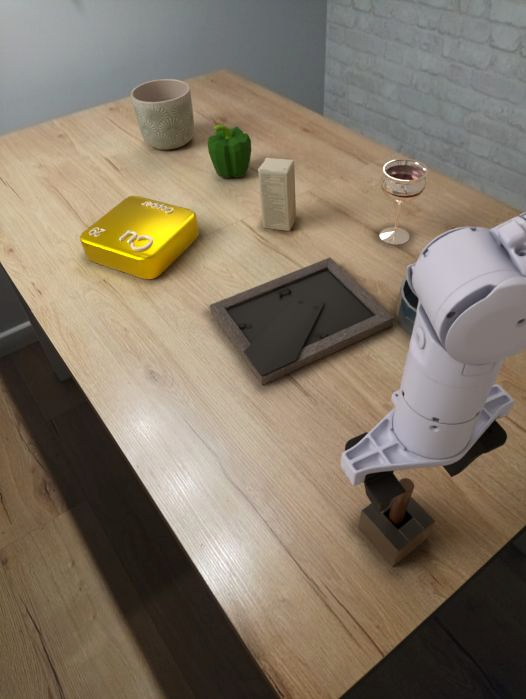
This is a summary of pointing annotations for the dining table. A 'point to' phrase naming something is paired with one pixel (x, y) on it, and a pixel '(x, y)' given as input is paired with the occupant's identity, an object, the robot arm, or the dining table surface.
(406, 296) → the bowl
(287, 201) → the box
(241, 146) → the bell pepper
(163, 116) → the planter
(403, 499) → the brown cylindrical rod
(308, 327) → the picture frame
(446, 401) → the robot arm
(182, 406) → the dining table surface
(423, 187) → the wineglass
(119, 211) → the element tile
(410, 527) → the stand
